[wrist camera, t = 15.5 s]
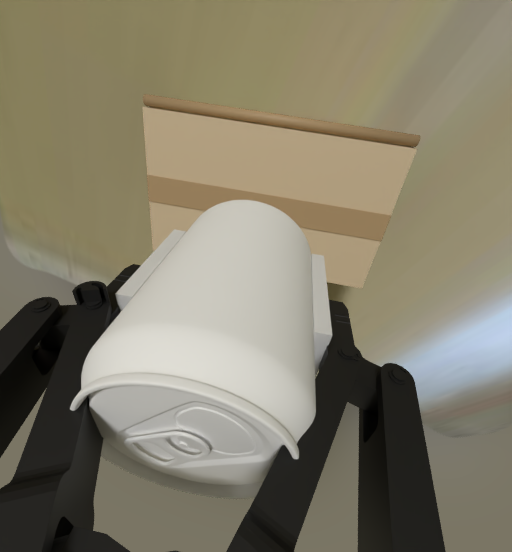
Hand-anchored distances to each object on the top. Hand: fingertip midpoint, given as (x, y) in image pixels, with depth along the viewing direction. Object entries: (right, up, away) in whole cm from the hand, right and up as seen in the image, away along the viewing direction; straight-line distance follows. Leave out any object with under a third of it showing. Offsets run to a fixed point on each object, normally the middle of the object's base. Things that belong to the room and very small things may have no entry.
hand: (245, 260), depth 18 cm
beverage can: (0, +1, +1) cm, 1 cm away
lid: (+2, +6, +8) cm, 10 cm away
